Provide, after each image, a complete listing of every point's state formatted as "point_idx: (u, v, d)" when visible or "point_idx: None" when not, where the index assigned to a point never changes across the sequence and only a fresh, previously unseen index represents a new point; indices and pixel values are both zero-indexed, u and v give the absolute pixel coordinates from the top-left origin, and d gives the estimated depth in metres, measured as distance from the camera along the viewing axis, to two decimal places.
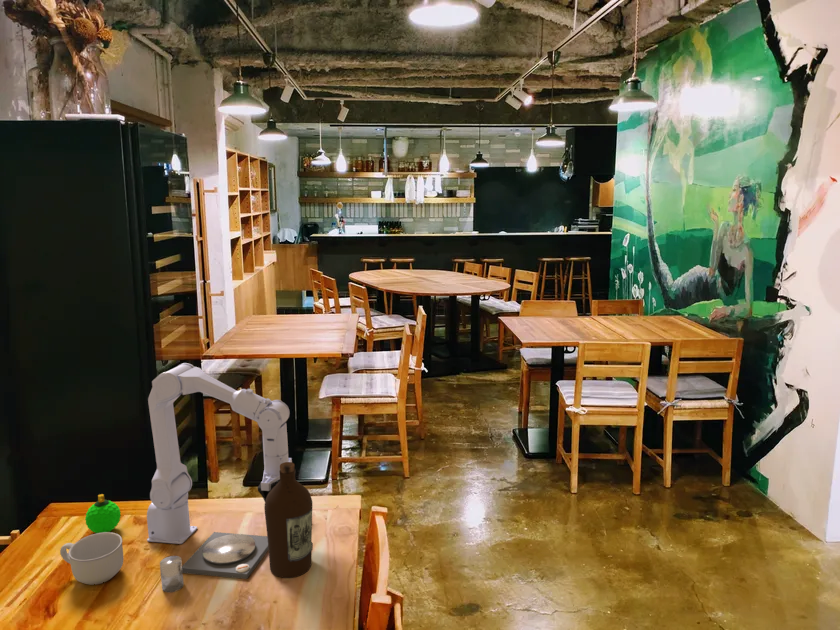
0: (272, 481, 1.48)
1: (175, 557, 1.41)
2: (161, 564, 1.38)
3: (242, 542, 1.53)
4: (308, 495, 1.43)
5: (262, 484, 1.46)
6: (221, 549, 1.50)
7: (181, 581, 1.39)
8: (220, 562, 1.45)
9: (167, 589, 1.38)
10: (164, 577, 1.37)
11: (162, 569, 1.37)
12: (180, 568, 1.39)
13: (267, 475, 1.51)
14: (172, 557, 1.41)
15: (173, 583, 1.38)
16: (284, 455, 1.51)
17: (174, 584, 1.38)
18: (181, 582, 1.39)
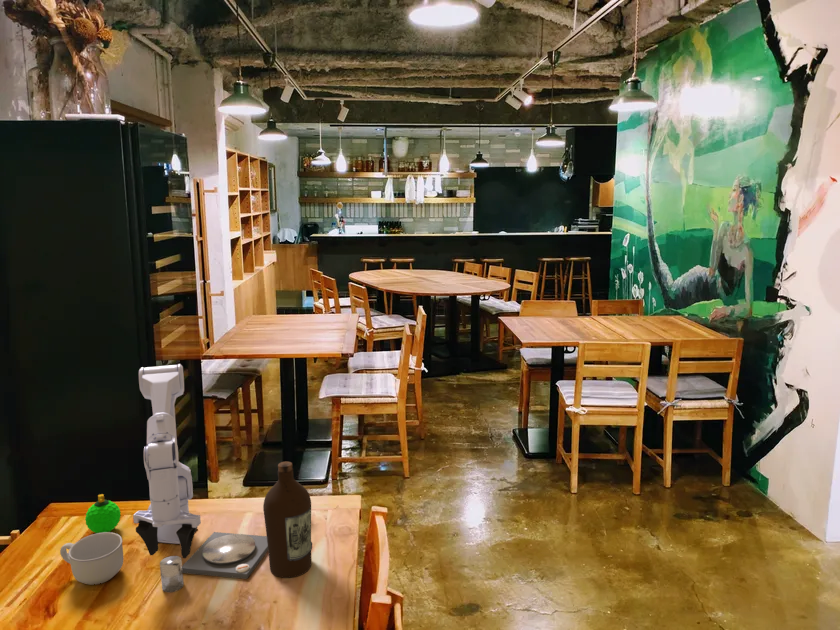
0: (139, 517, 1.37)
1: (175, 557, 1.41)
2: (161, 564, 1.38)
3: (242, 542, 1.53)
4: (307, 494, 1.44)
5: None
6: (221, 549, 1.50)
7: (181, 581, 1.39)
8: (220, 562, 1.45)
9: (167, 589, 1.38)
10: (164, 577, 1.37)
11: (162, 569, 1.37)
12: (180, 568, 1.39)
13: None
14: (172, 557, 1.41)
15: (173, 583, 1.38)
16: (153, 501, 1.34)
17: (174, 584, 1.38)
18: (181, 582, 1.39)
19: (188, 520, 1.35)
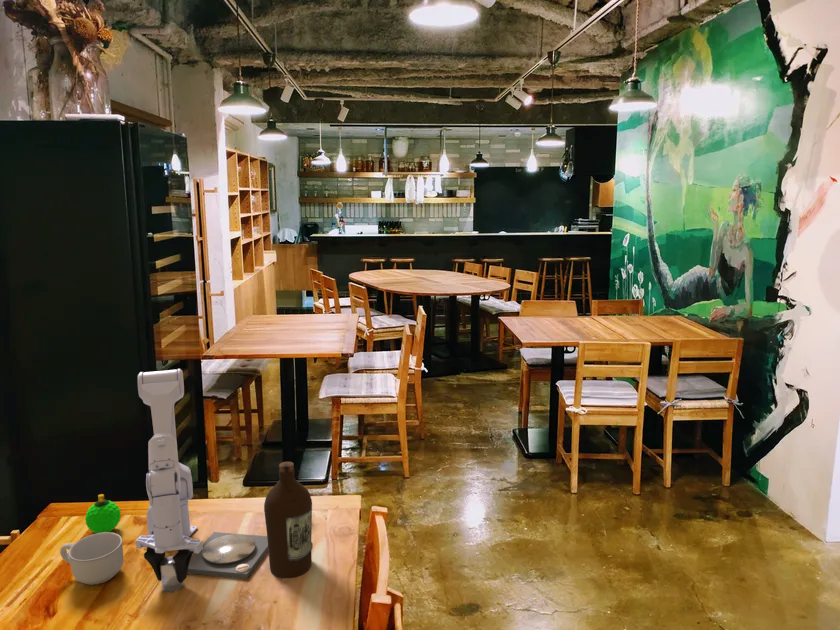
0: (141, 542, 1.38)
1: None
2: (161, 564, 1.38)
3: (242, 542, 1.53)
4: (308, 494, 1.44)
5: None
6: (221, 549, 1.50)
7: None
8: (220, 562, 1.45)
9: (167, 589, 1.38)
10: (164, 577, 1.37)
11: (162, 569, 1.37)
12: None
13: None
14: (172, 557, 1.41)
15: (173, 583, 1.38)
16: (155, 527, 1.35)
17: (174, 584, 1.38)
18: None
19: (190, 546, 1.36)
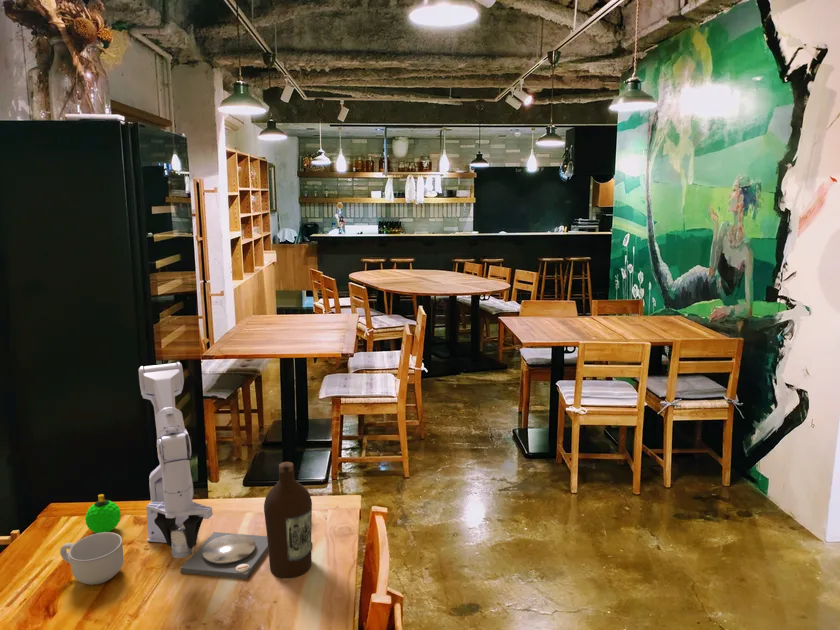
0: (152, 508, 1.39)
1: None
2: (171, 530, 1.39)
3: (242, 542, 1.53)
4: (307, 495, 1.44)
5: None
6: (221, 549, 1.50)
7: None
8: (220, 562, 1.45)
9: (177, 554, 1.39)
10: (175, 543, 1.39)
11: (172, 535, 1.39)
12: None
13: None
14: (182, 523, 1.42)
15: (183, 549, 1.39)
16: (166, 493, 1.36)
17: (184, 549, 1.39)
18: None
19: (200, 511, 1.37)
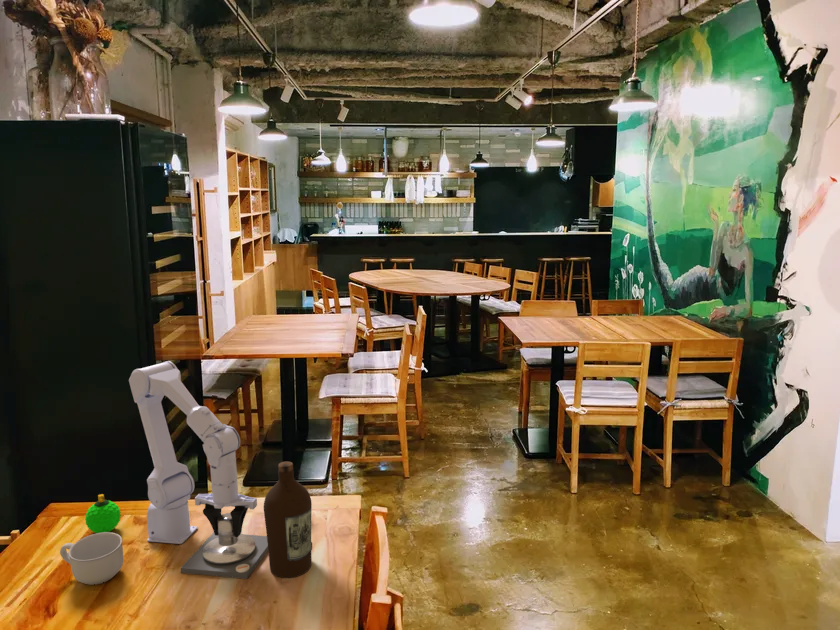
0: (200, 499, 1.49)
1: (230, 514, 1.51)
2: (218, 520, 1.49)
3: (242, 542, 1.53)
4: (307, 494, 1.44)
5: None
6: (221, 549, 1.50)
7: None
8: (220, 562, 1.45)
9: (224, 543, 1.49)
10: (222, 532, 1.48)
11: (219, 524, 1.48)
12: None
13: None
14: (228, 514, 1.51)
15: (230, 537, 1.49)
16: (214, 485, 1.46)
17: (230, 538, 1.49)
18: None
19: (246, 502, 1.47)
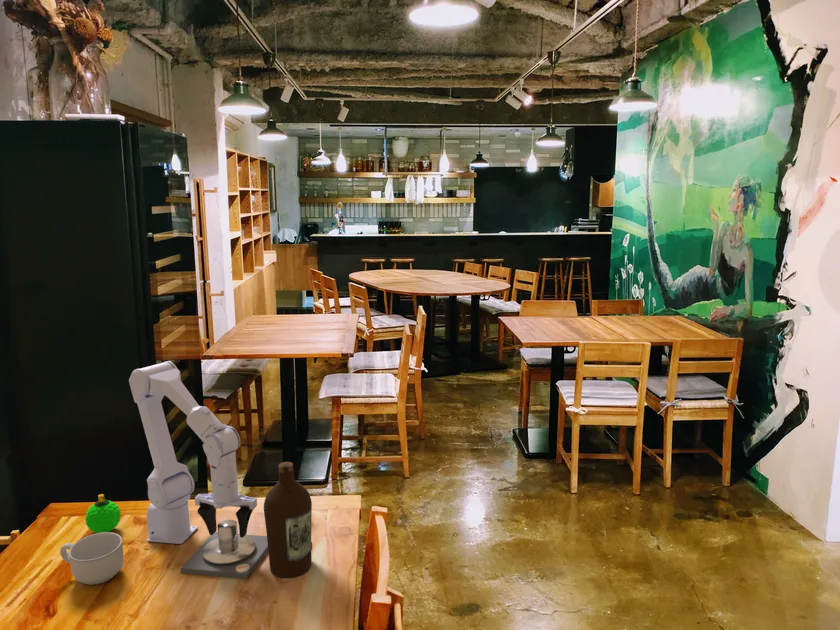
0: (200, 499, 1.49)
1: (231, 520, 1.52)
2: (219, 526, 1.49)
3: (242, 543, 1.53)
4: (307, 495, 1.44)
5: None
6: None
7: (237, 543, 1.50)
8: (220, 562, 1.45)
9: (224, 549, 1.49)
10: (222, 539, 1.48)
11: (220, 531, 1.48)
12: (236, 530, 1.50)
13: None
14: (228, 521, 1.52)
15: (230, 544, 1.49)
16: (214, 485, 1.46)
17: (230, 545, 1.49)
18: (237, 543, 1.50)
19: (246, 502, 1.47)
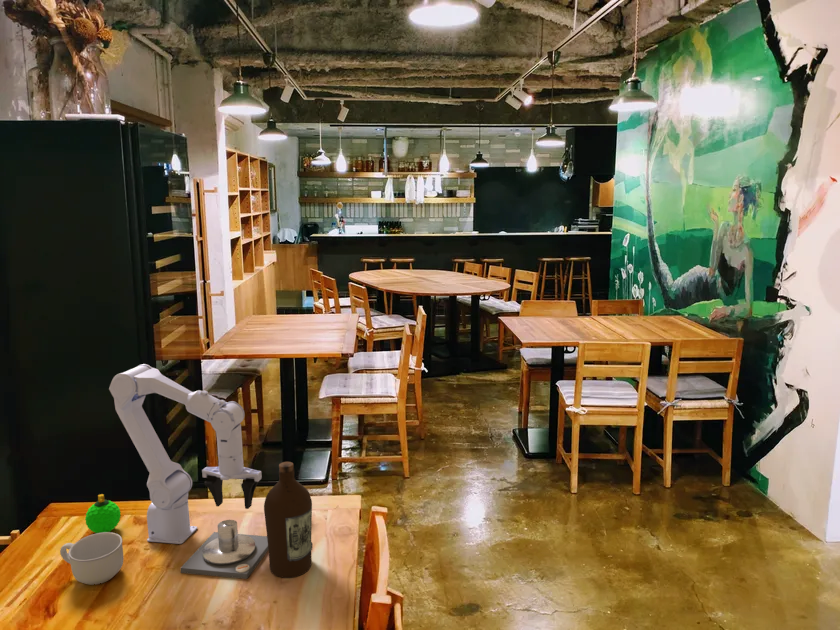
0: (207, 472, 1.55)
1: (231, 520, 1.52)
2: (219, 526, 1.49)
3: (242, 543, 1.53)
4: (307, 495, 1.44)
5: None
6: None
7: (237, 543, 1.50)
8: (220, 562, 1.45)
9: (224, 549, 1.49)
10: (222, 539, 1.48)
11: (220, 531, 1.48)
12: (236, 531, 1.50)
13: None
14: (228, 521, 1.52)
15: (230, 544, 1.49)
16: (220, 457, 1.52)
17: (230, 545, 1.49)
18: (237, 543, 1.50)
19: (251, 475, 1.53)
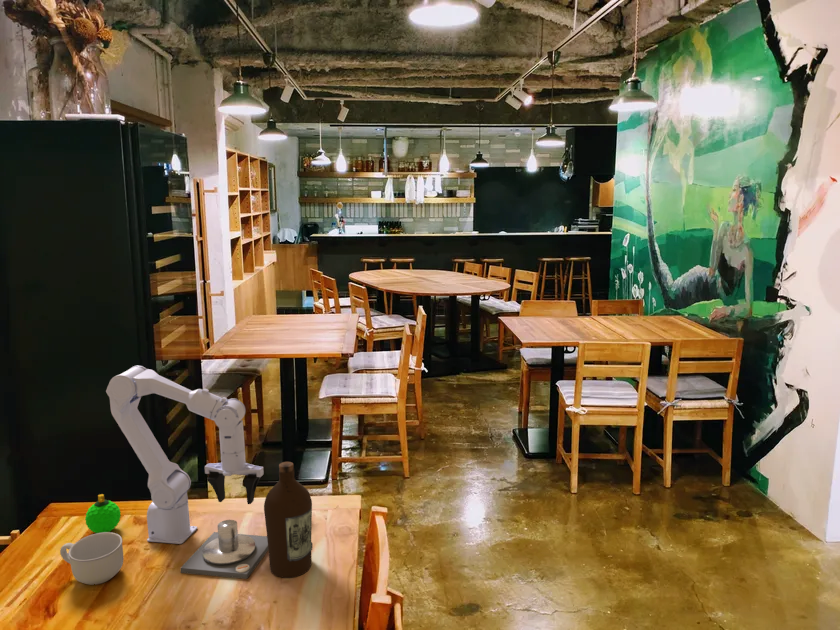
0: (210, 468, 1.57)
1: (231, 520, 1.52)
2: (219, 526, 1.49)
3: (242, 543, 1.53)
4: (307, 495, 1.44)
5: None
6: None
7: (237, 543, 1.50)
8: (220, 562, 1.45)
9: (224, 549, 1.49)
10: (222, 539, 1.48)
11: (220, 531, 1.48)
12: (236, 531, 1.50)
13: None
14: (228, 521, 1.52)
15: (230, 544, 1.49)
16: (223, 454, 1.54)
17: (230, 545, 1.49)
18: (237, 543, 1.50)
19: (253, 470, 1.55)
